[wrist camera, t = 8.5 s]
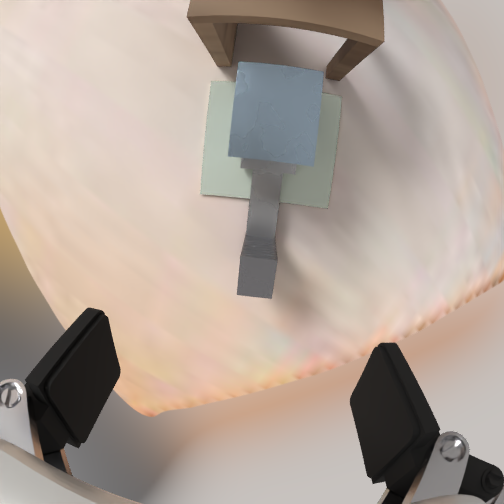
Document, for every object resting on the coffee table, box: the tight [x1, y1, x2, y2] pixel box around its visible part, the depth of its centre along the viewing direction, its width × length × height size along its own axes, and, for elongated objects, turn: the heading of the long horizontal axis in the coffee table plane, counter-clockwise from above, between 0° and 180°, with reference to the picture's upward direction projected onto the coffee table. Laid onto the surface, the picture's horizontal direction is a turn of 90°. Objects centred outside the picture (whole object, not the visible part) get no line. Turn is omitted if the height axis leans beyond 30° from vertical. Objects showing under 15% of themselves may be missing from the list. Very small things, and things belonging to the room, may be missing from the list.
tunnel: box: [187, 0, 384, 81], centre depth 13 cm, size 8×10×10 cm
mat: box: [200, 81, 342, 209], centre depth 21 cm, size 10×11×1 cm
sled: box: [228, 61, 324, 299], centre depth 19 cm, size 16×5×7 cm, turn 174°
